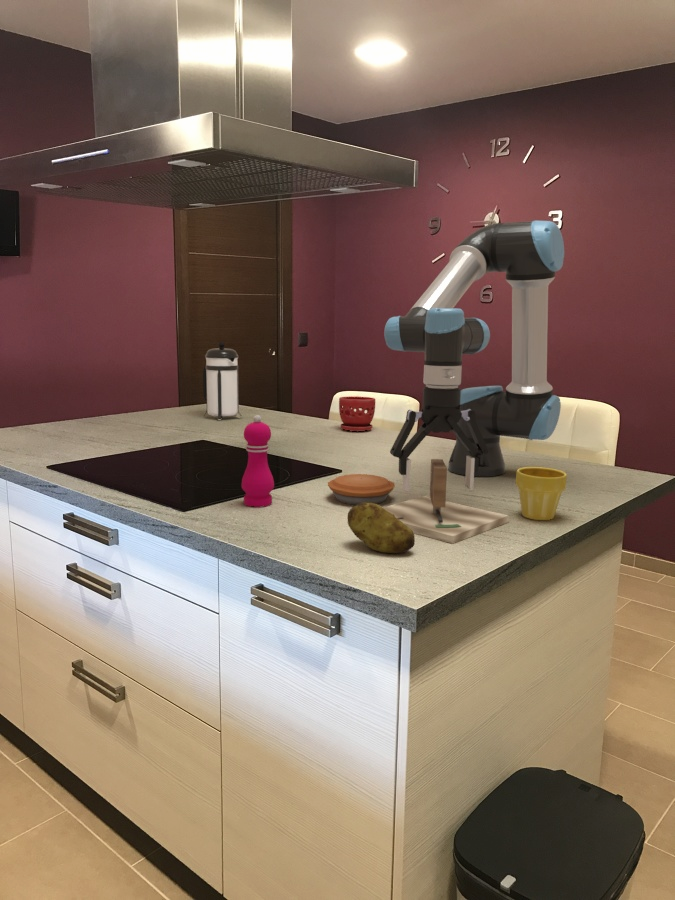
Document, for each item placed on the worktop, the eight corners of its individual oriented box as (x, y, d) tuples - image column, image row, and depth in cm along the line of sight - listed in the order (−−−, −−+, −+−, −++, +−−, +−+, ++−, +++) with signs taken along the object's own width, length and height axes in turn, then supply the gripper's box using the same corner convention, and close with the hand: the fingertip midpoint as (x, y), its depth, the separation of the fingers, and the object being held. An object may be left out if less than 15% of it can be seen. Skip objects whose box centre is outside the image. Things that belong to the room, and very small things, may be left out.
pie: (331, 489, 176) (331, 469, 175) (395, 492, 174) (395, 472, 173) (323, 506, 161) (323, 484, 160) (393, 509, 159) (394, 487, 158)
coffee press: (246, 415, 294) (245, 341, 289) (236, 421, 279) (235, 342, 273) (204, 414, 296) (202, 340, 290) (193, 420, 280) (191, 342, 275)
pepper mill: (258, 497, 167) (257, 411, 163) (280, 503, 163) (280, 415, 159) (235, 503, 162) (233, 415, 158) (257, 509, 157) (257, 418, 153)
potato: (385, 562, 126) (386, 518, 124) (339, 543, 136) (340, 502, 134) (419, 553, 131) (421, 510, 129) (373, 535, 140) (374, 495, 139)
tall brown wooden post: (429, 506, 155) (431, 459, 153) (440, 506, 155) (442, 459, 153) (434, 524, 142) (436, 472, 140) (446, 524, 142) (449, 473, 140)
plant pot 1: (379, 432, 258) (380, 399, 256) (343, 433, 255) (343, 399, 253) (369, 426, 271) (369, 394, 268) (335, 427, 268) (335, 395, 265)
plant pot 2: (571, 516, 156) (575, 471, 154) (550, 526, 148) (553, 479, 146) (527, 507, 162) (530, 464, 161) (504, 516, 155) (507, 471, 153)
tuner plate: (423, 502, 165) (423, 495, 165) (508, 522, 150) (508, 514, 150) (365, 519, 151) (365, 511, 151) (452, 543, 136) (452, 535, 136)
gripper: (386, 388, 139) (384, 495, 143) (508, 387, 144) (502, 491, 148) (377, 384, 147) (374, 486, 151) (492, 383, 151) (487, 482, 155)
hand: (437, 489), depth 149 cm, fingers open, 13 cm apart
